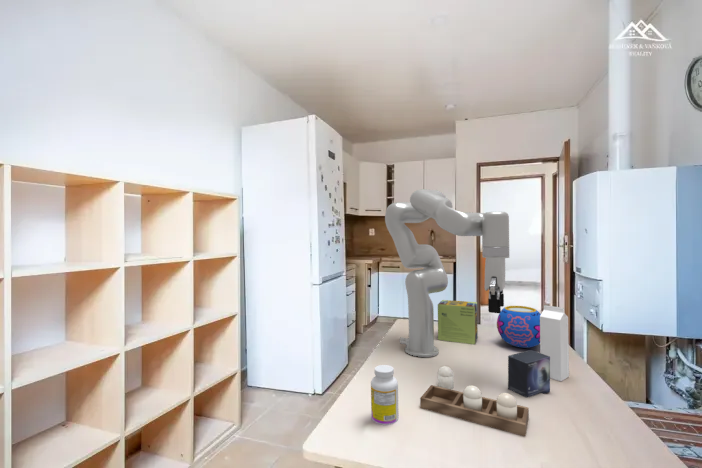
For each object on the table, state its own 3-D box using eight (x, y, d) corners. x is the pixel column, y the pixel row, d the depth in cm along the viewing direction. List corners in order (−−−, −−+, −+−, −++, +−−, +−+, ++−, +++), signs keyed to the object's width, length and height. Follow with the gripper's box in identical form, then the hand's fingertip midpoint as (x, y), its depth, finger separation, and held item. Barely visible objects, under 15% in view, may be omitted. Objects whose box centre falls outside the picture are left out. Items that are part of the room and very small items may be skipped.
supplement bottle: (378, 410, 87) (377, 361, 87) (402, 417, 84) (401, 366, 84) (366, 423, 82) (365, 370, 81) (391, 431, 78) (391, 376, 78)
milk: (561, 382, 102) (560, 309, 102) (540, 375, 107) (539, 306, 107) (569, 376, 106) (568, 306, 106) (548, 370, 111) (547, 303, 111)
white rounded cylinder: (436, 390, 98) (435, 367, 98) (440, 384, 102) (440, 362, 102) (451, 393, 96) (450, 370, 96) (455, 387, 100) (455, 365, 100)
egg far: (495, 423, 79) (495, 395, 79) (498, 414, 83) (498, 387, 83) (516, 428, 77) (515, 399, 77) (518, 419, 81) (517, 392, 81)
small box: (527, 401, 91) (527, 362, 91) (506, 391, 97) (506, 355, 97) (551, 392, 96) (551, 355, 96) (530, 383, 101) (529, 349, 101)
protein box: (475, 344, 137) (475, 306, 137) (437, 340, 144) (437, 303, 144) (478, 337, 147) (477, 301, 147) (442, 333, 153) (441, 299, 153)
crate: (420, 410, 87) (420, 397, 87) (431, 396, 94) (431, 384, 94) (525, 439, 74) (525, 425, 74) (528, 421, 81) (528, 407, 81)
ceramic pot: (547, 343, 138) (546, 306, 138) (544, 356, 123) (544, 315, 123) (500, 336, 147) (500, 302, 147) (493, 348, 132) (493, 310, 132)
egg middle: (461, 414, 83) (461, 387, 83) (465, 406, 87) (465, 380, 87) (480, 419, 81) (479, 391, 81) (483, 410, 85) (483, 384, 85)
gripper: (486, 251, 111) (487, 302, 111) (477, 254, 96) (478, 314, 96) (511, 251, 107) (512, 304, 107) (506, 254, 92) (507, 317, 92)
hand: (496, 309), depth 102 cm, fingers open, 9 cm apart
